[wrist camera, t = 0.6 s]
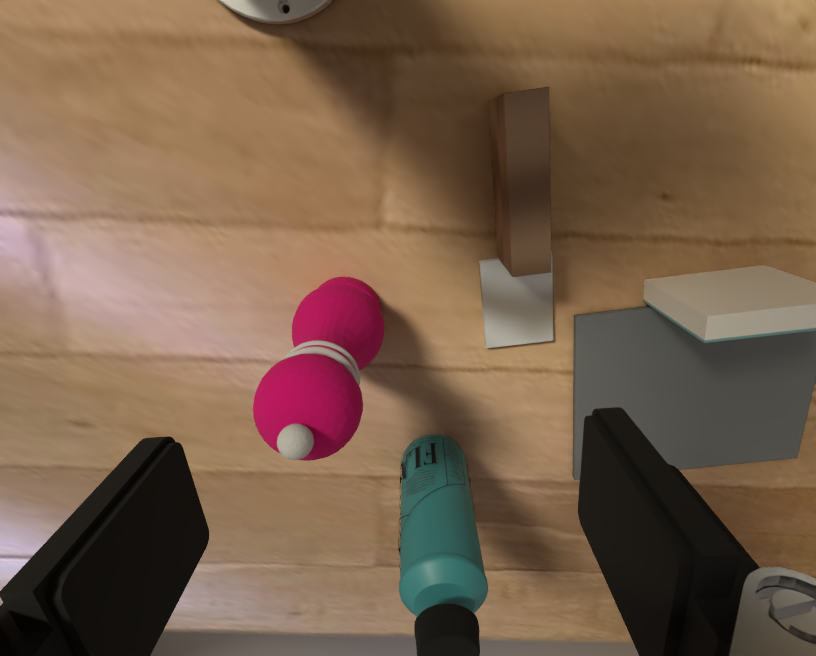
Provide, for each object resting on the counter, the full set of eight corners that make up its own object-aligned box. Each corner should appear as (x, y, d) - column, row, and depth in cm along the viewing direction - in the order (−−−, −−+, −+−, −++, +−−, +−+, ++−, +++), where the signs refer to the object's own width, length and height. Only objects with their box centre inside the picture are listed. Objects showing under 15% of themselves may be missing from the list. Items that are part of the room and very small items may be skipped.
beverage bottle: (436, 411, 44) (455, 605, 26) (478, 453, 46) (524, 663, 27) (387, 447, 46) (370, 654, 27) (429, 487, 48) (441, 706, 29)
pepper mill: (403, 306, 40) (397, 447, 22) (352, 361, 42) (306, 533, 24) (339, 253, 38) (272, 357, 20) (289, 313, 40) (186, 458, 22)
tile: (644, 279, 39) (707, 316, 31) (764, 264, 39) (861, 298, 30) (642, 301, 40) (704, 342, 32) (760, 287, 39) (854, 325, 31)
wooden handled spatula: (467, 104, 34) (478, 97, 29) (548, 93, 34) (575, 82, 28) (485, 345, 42) (496, 376, 36) (551, 337, 41) (573, 368, 36)
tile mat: (573, 314, 40) (575, 316, 40) (832, 284, 39) (837, 286, 39) (572, 476, 47) (574, 479, 47) (793, 454, 46) (797, 457, 45)
